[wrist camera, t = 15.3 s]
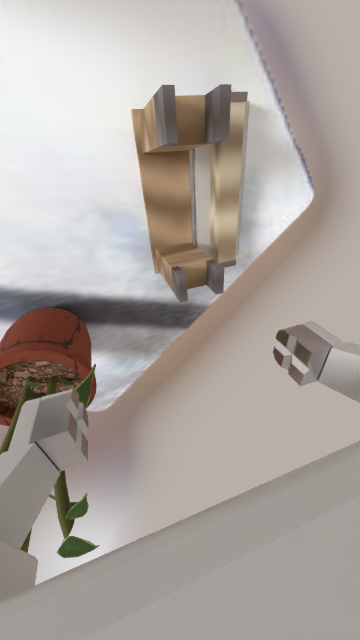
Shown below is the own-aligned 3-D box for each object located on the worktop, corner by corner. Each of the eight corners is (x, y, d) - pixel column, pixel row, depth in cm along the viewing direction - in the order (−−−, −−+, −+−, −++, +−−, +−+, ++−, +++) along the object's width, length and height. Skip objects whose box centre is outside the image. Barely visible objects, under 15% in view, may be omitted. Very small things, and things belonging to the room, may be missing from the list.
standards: (131, 110, 27) (154, 72, 17) (185, 109, 29) (237, 72, 18) (154, 272, 39) (177, 308, 29) (192, 265, 41) (226, 296, 30)
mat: (192, 103, 29) (193, 102, 28) (246, 102, 31) (249, 101, 30) (197, 261, 41) (198, 262, 40) (236, 253, 43) (238, 254, 42)
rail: (209, 99, 29) (221, 92, 26) (233, 99, 30) (247, 91, 27) (209, 262, 41) (217, 268, 38) (226, 259, 42) (235, 265, 39)
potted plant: (-11, 329, 36) (-379, 879, 8) (58, 265, 34) (-99, 681, 6) (79, 376, 46) (58, 686, 18) (136, 329, 44) (208, 591, 16)
